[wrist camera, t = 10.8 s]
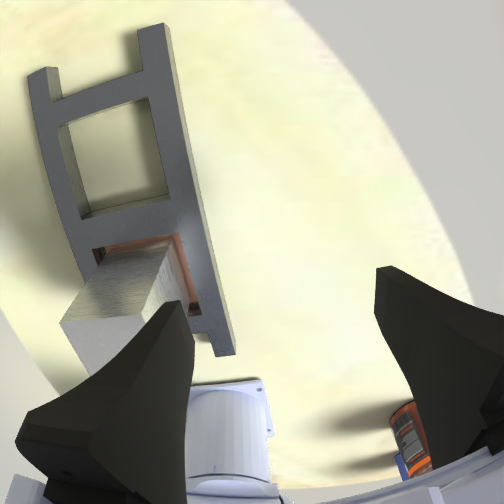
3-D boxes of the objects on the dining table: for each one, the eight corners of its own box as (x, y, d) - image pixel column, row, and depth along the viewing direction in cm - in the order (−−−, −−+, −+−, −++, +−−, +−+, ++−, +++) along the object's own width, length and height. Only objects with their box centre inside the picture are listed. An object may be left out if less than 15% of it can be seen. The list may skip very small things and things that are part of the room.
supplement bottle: (382, 430, 32) (408, 507, 22) (395, 402, 30) (429, 487, 19) (424, 419, 32) (454, 490, 22) (440, 390, 30) (478, 467, 20)
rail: (235, 341, 24) (235, 354, 23) (129, 351, 25) (124, 364, 23) (169, 28, 15) (163, 22, 13) (39, 76, 15) (27, 76, 13)
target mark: (199, 299, 22) (198, 301, 22) (129, 308, 23) (128, 310, 22) (179, 228, 20) (178, 230, 20) (104, 242, 20) (103, 244, 20)
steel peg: (191, 296, 22) (173, 384, 15) (132, 304, 22) (98, 387, 15) (173, 236, 20) (141, 314, 13) (110, 248, 20) (59, 322, 13)
